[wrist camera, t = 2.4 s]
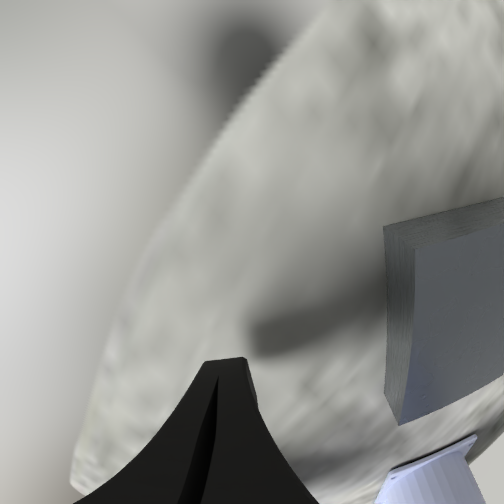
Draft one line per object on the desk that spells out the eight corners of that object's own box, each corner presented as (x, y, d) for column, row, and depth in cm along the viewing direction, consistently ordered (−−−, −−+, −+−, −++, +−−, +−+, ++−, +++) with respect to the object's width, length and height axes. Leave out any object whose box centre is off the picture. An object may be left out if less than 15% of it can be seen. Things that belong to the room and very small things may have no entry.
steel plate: (478, 346, 11) (502, 375, 9) (381, 386, 12) (398, 425, 10) (497, 195, 9) (539, 211, 6) (378, 223, 9) (414, 249, 7)
